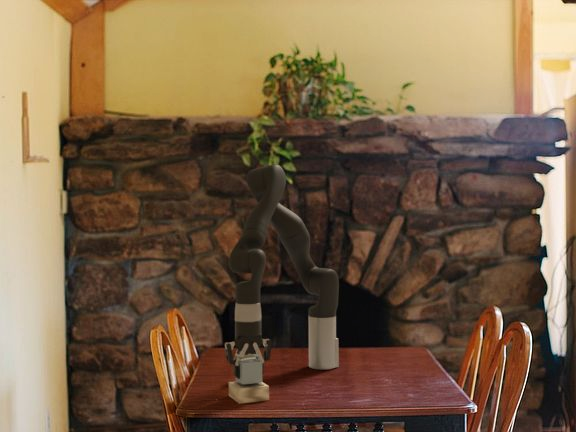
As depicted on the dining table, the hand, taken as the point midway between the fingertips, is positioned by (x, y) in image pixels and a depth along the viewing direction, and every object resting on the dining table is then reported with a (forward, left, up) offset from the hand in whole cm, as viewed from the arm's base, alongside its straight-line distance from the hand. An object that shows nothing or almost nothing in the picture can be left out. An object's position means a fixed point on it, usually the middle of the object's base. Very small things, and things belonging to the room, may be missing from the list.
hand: (248, 376), depth 220 cm
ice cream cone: (-8, -20, -6) cm, 22 cm away
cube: (0, 0, -1) cm, 1 cm away
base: (0, 0, -6) cm, 6 cm away
